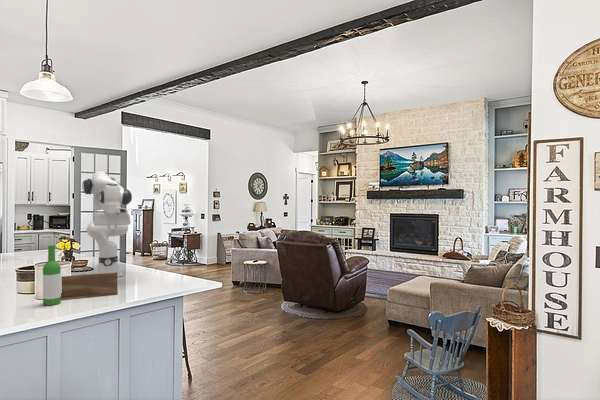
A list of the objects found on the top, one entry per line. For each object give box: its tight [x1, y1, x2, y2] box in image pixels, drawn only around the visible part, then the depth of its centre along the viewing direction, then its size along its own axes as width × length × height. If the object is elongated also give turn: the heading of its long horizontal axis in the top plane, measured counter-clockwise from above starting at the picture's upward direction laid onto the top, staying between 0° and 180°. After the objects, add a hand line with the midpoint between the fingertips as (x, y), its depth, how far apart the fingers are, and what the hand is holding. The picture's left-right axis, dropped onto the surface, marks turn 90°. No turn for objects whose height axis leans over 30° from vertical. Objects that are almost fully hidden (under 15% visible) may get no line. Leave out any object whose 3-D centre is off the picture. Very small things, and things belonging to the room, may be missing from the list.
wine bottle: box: [42, 244, 62, 306], centre depth 194 cm, size 8×8×30 cm
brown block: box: [61, 272, 119, 301], centre depth 212 cm, size 13×28×12 cm, turn 114°
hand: (112, 232), depth 231 cm, fingers closed
